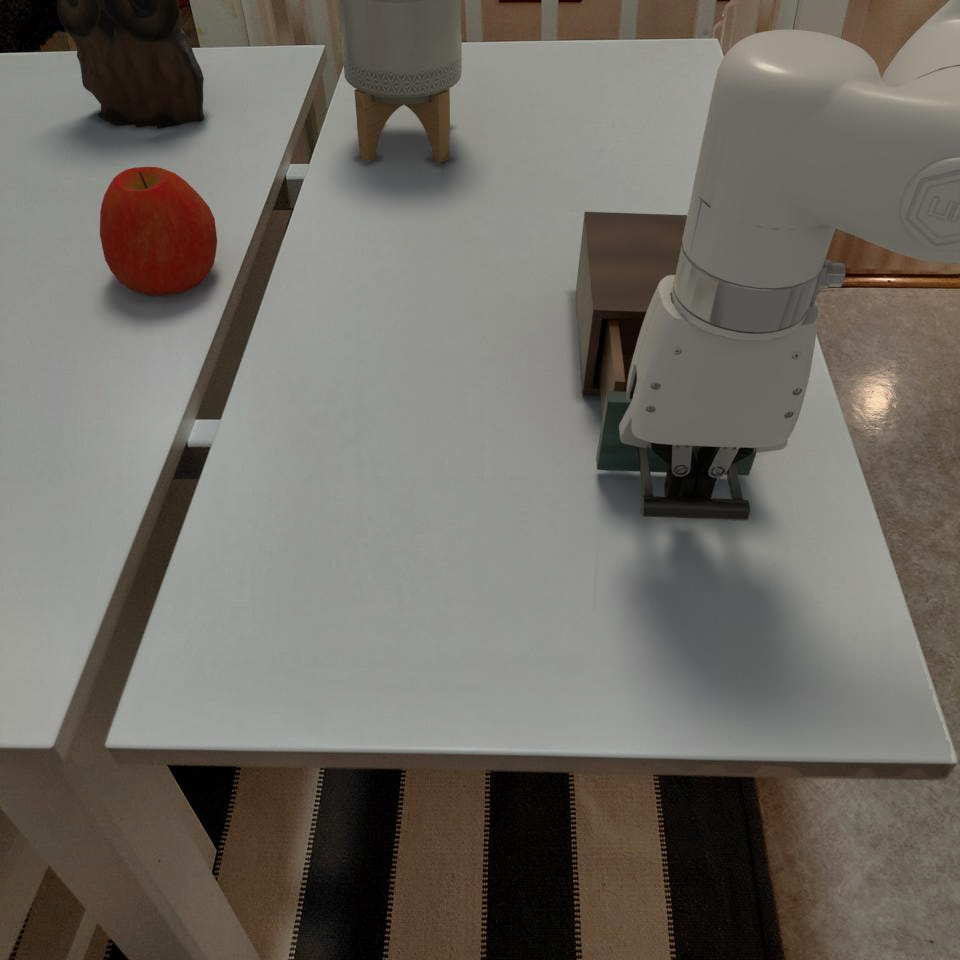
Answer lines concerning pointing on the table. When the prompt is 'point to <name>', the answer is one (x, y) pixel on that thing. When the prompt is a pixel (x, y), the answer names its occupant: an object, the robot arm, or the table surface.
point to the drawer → (618, 456)
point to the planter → (402, 65)
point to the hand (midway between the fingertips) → (684, 502)
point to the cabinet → (620, 274)
